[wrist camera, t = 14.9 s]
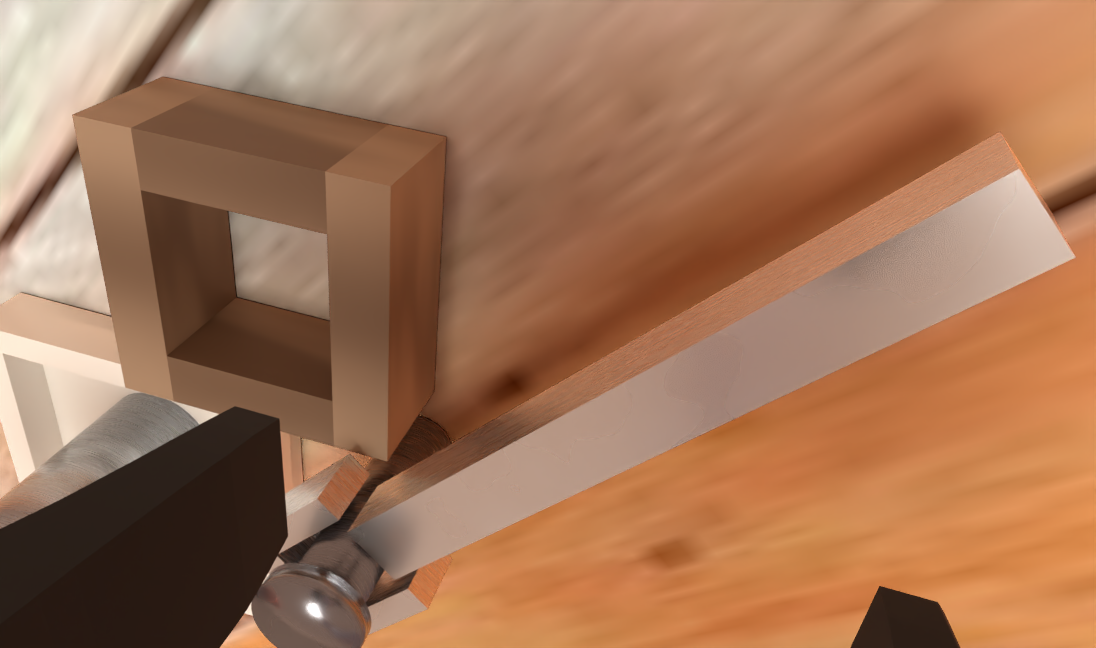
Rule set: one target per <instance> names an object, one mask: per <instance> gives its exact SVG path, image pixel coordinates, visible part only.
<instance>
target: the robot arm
mask: <svg viewBox="0 0 1096 648" xmlns="http://www.w3.org/2000/svg"><path fill="white" fill-rule="evenodd" d="M287 538H288V527H287V513H286V500H285V487H284V473H283V460H282V447H281V433H280V420H279V418H276V417H272V416H269V415H265V414H262V413H258V412H254V411H251V410H247V409H244V408H240V407H236V406H234V407H232V408H230V409H228V410H226V411H224V412H222V413H221V414H219V415H217V416H215V417H213V418H211V419H209V420H207V421H205V422H203V423H202V424H200V425H198V426H196V427H194V428H192V429H190V430H189V431H187V432H185V433H183V434H181V435H179V436H178V437H176V438H174V439H172V440H170V441H169V442H167V443H165V444H163V445H161V446H159V447H158V448H156V449H154V450H152V451H150V452H148V453H147V454H145V455H143V456H141V457H139V458H138V459H136V460H134V461H132V462H130V463H128V464H126V465H125V466H123V467H121V468H119V469H117V470H115V471H113V472H111V473H109V474H108V475H106V476H104V477H102V478H100V479H98V480H96V481H94V482H93V483H91V484H89V485H87V486H85V487H83V488H81V489H79V490H78V491H76V492H74V493H72V494H70V495H68V496H66V497H64V498H62V499H60V500H58V501H56V502H54V503H52V504H50V505H48V506H46V507H44V508H42V509H40V510H38V511H36V512H34V513H32V514H30V515H28V516H26V517H24V518H22V519H19V520H17V521H15V522H13V523H11V524H9V525H7V526H5V527H3V528H1V529H0V648H220V646H221V645H222V644H223V642H224V641H225V639H226V638H227V637H228V635H229V634H230V633H231V631H232V630H233V628H234V627H235V626H236V624H237V623H238V621H239V620H240V619H241V617H242V616H243V614H244V613H245V612H246V610H247V609H248V607H249V605H250V604H251V602H252V600H253V599H254V597H255V595H256V593H257V592H258V590H259V588H260V587H261V585H262V583H263V581H264V580H265V578H266V576H267V574H268V573H269V571H270V569H271V567H272V565H273V563H274V562H275V560H276V558H277V556H278V554H279V552H280V550H281V549H282V547H283V545H284V543H285V541H286V539H287ZM851 648H960V646H959V644H958V642H957V639H956V637H955V635H954V633H953V631H952V629H951V626H950V624H949V622H948V620H947V618H946V616H945V613H944V612H943V610H942V608H941V607H940V605H939V604H938V602H935V601H931V600H928V599H924V598H921V597H917V596H914V595H910V594H906V593H903V592H899V591H896V590H892V589H888V588H885V587H881V586H879V588H878V591H877V593H876V595H875V597H874V599H873V601H872V603H871V605H870V607H869V610H868V612H867V614H866V616H865V618H864V620H863V622H862V624H861V627H860V629H859V631H858V633H857V635H856V637H855V639H854V641H853V644H852V646H851Z"/></svg>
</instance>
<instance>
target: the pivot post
mask: <svg viewBox="0 0 1096 648" xmlns="http://www.w3.org/2000/svg"><path fill="white" fill-rule="evenodd" d="M450 444H451V442H450V440H449V437H448V436H447V434H446V433H445V431H444V430H443V429H442V428H441V427H440V426H439V425H437V424H436V423H434V422H433V421H431V420H429V419H426V418H423V417H419V416H417V418H416V419H415V421H414V422H413V424H412V425H411V427H410V428H409V430H408V431H407V433H406V434H405V436H404V437H403V439H402V440H401V442H400V443H399V445H398V446H397V448H396V449H395V451H394V452H393V454H392V455H391V457H390V458H389V460H388V461H384V460H380V459H377V458H373V457H372V458H371V459H370V461H369V462H368V464H367V465H366V467H365V468H364V469H365V470H366V471H367V472H368V473H369V474H370V475H369V477H368V478H367V479H366V481H365V482H364V484H363V485H362V487H361V488H360V490H359V491H358V493H357V494H356V496H355V497H354V499H353V500H352V502H351V503H350V505H349V506H348V507H347V509H346V510H345V512H344V513H343V515H342V516H341V518H340V519H339V521H337V522H335V523H333V524H331V525H330V526H328V527H326V528H324V529H322V530H321V532H320V533H319V534H318V536H317V537H316V539H315V540H314V542H313V543H312V545H311V546H310V547H309V549H308V550H307V552H306V553H305V555H304V556H303V558H302V559H301V560H300V562H299V563H287V564H283V565H280V566H278V567H276V568H275V569H273V570H272V571H271V572H270V574H269V575H268V577H267V578H266V579H265V581H264V582H263V583H262V585H261V587H260V588H259V590H258V592H257V593H256V595H255V597H254V599H253V600H252V603H251V610H252V615H253V618H254V620H255V622H256V624H257V626H258V628H259V629H260V631H261V632H262V633H263V634H264V636H265V637H266V638H267V639H268V640H269V641H270V642H271V643H273V644H274V645H275V646H276V647H277V648H361V647H362V645H363V643H364V641H365V639H366V638H367V636H368V634H369V632H370V629H371V623H372V622H371V615H370V611H369V609H368V607H367V605H366V602H367V600H368V598H369V597H370V595H371V593H372V591H373V590H374V588H375V586H376V584H377V583H378V581H379V579H380V577H381V576H382V574H383V572H384V569H383V568H382V567H381V566H380V565H379V564H378V563H377V562H376V561H375V560H374V559H373V558H372V557H371V556H370V555H369V554H368V553H367V552H366V551H365V550H364V549H363V548H362V547H361V546H360V545H359V544H358V543H357V542H356V541H355V540H354V539H353V538H352V537H351V536H350V535H349V534H348V533H347V531H348V530H349V528H350V527H351V525H352V524H353V522H354V521H355V519H356V518H357V516H358V515H359V513H360V512H361V510H362V509H363V507H364V506H365V504H366V502H367V501H368V499H369V498H370V496H371V495H372V493H373V492H374V490H375V489H376V487H377V486H378V485H380V484H382V483H383V482H385V481H387V480H389V479H391V478H392V477H394V476H396V475H398V474H399V473H401V472H403V471H405V470H406V469H408V468H410V467H412V466H413V465H415V464H417V463H419V462H420V461H422V460H424V459H426V458H427V457H429V456H431V455H433V454H434V453H436V452H438V451H440V450H441V449H443V448H445V447H447V446H448V445H450Z"/></svg>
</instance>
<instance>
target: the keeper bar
mask: <svg viewBox="0 0 1096 648" xmlns="http://www.w3.org/2000/svg"><path fill="white" fill-rule="evenodd" d="M1073 258H1076V257H1075V255H1074V253H1073V251H1072V250H1071V248H1070V246H1069V244H1068V242H1067V240H1066V238H1065V236H1064V235H1063V233H1062V231H1061V229H1060V227H1059V225H1058V223H1057V221H1056V220H1055V218H1054V216H1053V214H1052V212H1051V211H1050V209H1049V207H1048V206H1047V204H1046V203H1045V201H1044V200H1043V198H1042V196H1041V195H1040V193H1039V192H1038V190H1037V189H1036V187H1035V185H1034V184H1033V182H1032V181H1031V179H1030V178H1029V176H1028V174H1027V173H1026V171H1025V170H1024V168H1023V166H1022V165H1021V163H1020V162H1019V160H1018V159H1017V157H1016V155H1015V154H1014V152H1013V151H1012V149H1011V148H1010V146H1009V144H1008V143H1007V141H1006V140H1005V138H1004V137H1003V135H1002V133H1001V132H998V133H997V134H995V135H993V136H991V137H989V138H988V139H986V140H984V141H982V142H981V143H979V144H977V145H975V146H974V147H972V148H970V149H968V150H967V151H965V152H963V153H961V154H960V155H958V156H956V157H954V158H953V159H951V160H949V161H947V162H946V163H944V164H942V165H940V166H939V167H937V168H935V169H933V170H932V171H930V172H928V173H926V174H924V175H923V176H921V177H919V178H917V179H916V180H914V181H912V182H910V183H909V184H907V185H905V186H903V187H902V188H900V189H898V190H896V191H895V192H893V193H891V194H889V195H888V196H886V197H884V198H882V199H881V200H879V201H877V202H875V203H874V204H872V205H870V206H868V207H867V208H865V209H863V210H861V211H859V212H858V213H856V214H854V215H852V216H851V217H849V218H847V219H845V220H844V221H842V222H840V223H838V224H837V225H835V226H833V227H831V228H830V229H828V230H826V231H824V232H823V233H821V234H819V235H817V236H816V237H814V238H812V239H810V240H809V241H807V242H805V243H803V244H802V245H800V246H798V247H796V248H795V249H793V250H791V251H789V252H787V253H786V254H784V255H782V256H780V257H779V258H777V259H775V260H773V261H772V262H770V263H768V264H766V265H765V266H763V267H761V268H759V269H758V270H756V271H754V272H752V273H751V274H749V275H747V276H745V277H744V278H742V279H740V280H738V281H737V282H735V283H733V284H731V285H730V286H728V287H726V288H724V289H722V290H721V291H719V292H717V293H715V294H714V295H712V296H710V297H708V298H707V299H705V300H703V301H701V302H700V303H698V304H696V305H694V306H693V307H691V308H689V309H687V310H686V311H684V312H682V313H680V314H679V315H677V316H675V317H673V318H672V319H670V320H668V321H666V322H665V323H663V324H661V325H659V326H658V327H656V328H654V329H652V330H650V331H649V332H647V333H645V334H643V335H642V336H640V337H638V338H636V339H635V340H633V341H631V342H629V343H628V344H626V345H624V346H622V347H621V348H619V349H617V350H615V351H614V352H612V353H610V354H608V355H607V356H605V357H603V358H601V359H600V360H598V361H596V362H594V363H593V364H591V365H589V366H587V367H585V368H584V369H582V370H580V371H578V372H577V373H575V374H573V375H571V376H570V377H568V378H566V379H564V380H563V381H561V382H559V383H557V384H556V385H554V386H552V387H550V388H549V389H547V390H545V391H543V392H542V393H540V394H538V395H536V396H535V397H533V398H531V399H529V400H528V401H526V402H524V403H522V404H520V405H519V406H517V407H515V408H513V409H512V410H510V411H508V412H506V413H505V414H503V415H501V416H499V417H498V418H496V419H494V420H492V421H491V422H489V423H487V424H485V425H484V426H482V427H480V428H478V429H477V430H475V431H473V432H471V433H470V434H468V435H466V436H464V437H463V438H461V439H459V440H457V441H456V442H454V443H452V444H450V445H448V446H447V447H445V448H443V449H441V450H440V451H438V452H436V453H434V454H433V455H431V456H429V457H427V458H426V459H424V460H422V461H420V462H419V463H417V464H415V465H413V466H412V467H410V468H408V469H406V470H405V471H403V472H401V473H399V474H398V475H396V476H394V477H392V478H391V479H389V480H387V481H385V482H383V483H382V484H380V485H378V486H377V487H376V489H375V490H374V492H373V493H372V495H371V496H370V498H369V499H368V501H367V502H366V504H365V506H364V507H363V509H362V510H361V512H360V513H359V515H358V516H357V518H356V519H355V521H354V522H353V524H352V525H351V527H350V528H349V530H348V531H347V533H348V534H349V535H350V536H351V537H352V538H353V539H354V540H355V541H356V542H357V543H358V544H359V545H360V546H361V547H362V548H363V549H364V550H365V551H366V552H367V553H368V554H369V555H370V556H371V557H372V558H373V559H374V560H375V561H376V562H377V563H378V564H379V565H380V566H381V567H382V568H383V569H384V572H383V574H382V576H381V577H380V579H379V581H378V583H377V584H376V586H375V588H374V590H373V591H372V593H371V595H370V597H369V598H368V600H367V602H366V605H367V607H368V609H369V611H370V615H371V622H372V623H371V629H370V632H369V634H371V633H373V632H376V631H378V630H380V629H383V628H385V627H387V626H390V625H392V624H394V623H397V622H399V621H401V620H403V619H406V618H408V617H410V616H413V615H415V614H417V613H420V612H422V611H424V610H427V609H428V608H429V606H430V604H431V602H432V600H433V598H434V596H435V594H436V592H437V589H438V587H439V585H440V583H441V581H442V579H443V577H444V575H445V573H446V571H447V569H448V567H449V565H450V563H451V561H452V558H451V557H450V556H449V555H448V554H451V553H453V552H455V551H457V550H459V549H461V548H463V547H465V546H467V545H470V544H472V543H474V542H476V541H478V540H480V539H482V538H484V537H486V536H489V535H491V534H493V533H495V532H497V531H499V530H501V529H503V528H505V527H508V526H510V525H512V524H514V523H516V522H518V521H520V520H522V519H524V518H527V517H529V516H531V515H533V514H535V513H537V512H539V511H541V510H543V509H546V508H548V507H550V506H552V505H554V504H556V503H558V502H560V501H563V500H565V499H567V498H569V497H571V496H573V495H575V494H577V493H579V492H582V491H584V490H586V489H588V488H590V487H592V486H594V485H596V484H598V483H601V482H603V481H605V480H607V479H609V478H611V477H613V476H615V475H617V474H620V473H622V472H624V471H626V470H628V469H630V468H632V467H634V466H636V465H639V464H641V463H643V462H645V461H647V460H649V459H651V458H653V457H655V456H658V455H660V454H662V453H664V452H666V451H668V450H670V449H672V448H674V447H677V446H679V445H681V444H683V443H685V442H687V441H689V440H691V439H693V438H696V437H698V436H700V435H702V434H704V433H706V432H708V431H710V430H712V429H715V428H717V427H719V426H721V425H723V424H725V423H727V422H729V421H731V420H734V419H736V418H738V417H740V416H742V415H744V414H746V413H748V412H750V411H753V410H755V409H757V408H759V407H761V406H763V405H765V404H767V403H769V402H772V401H774V400H776V399H778V398H780V397H782V396H784V395H786V394H788V393H791V392H793V391H795V390H797V389H799V388H801V387H803V386H805V385H807V384H810V383H812V382H814V381H816V380H818V379H820V378H822V377H824V376H826V375H829V374H831V373H833V372H835V371H837V370H839V369H841V368H843V367H845V366H848V365H850V364H852V363H854V362H856V361H858V360H860V359H862V358H864V357H867V356H869V355H871V354H873V353H875V352H877V351H879V350H881V349H883V348H886V347H888V346H890V345H892V344H894V343H896V342H898V341H900V340H902V339H905V338H907V337H909V336H911V335H913V334H915V333H917V332H919V331H921V330H924V329H926V328H928V327H930V326H932V325H934V324H936V323H938V322H940V321H943V320H945V319H947V318H949V317H951V316H953V315H955V314H957V313H959V312H962V311H964V310H966V309H968V308H970V307H972V306H974V305H976V304H978V303H981V302H983V301H985V300H987V299H989V298H991V297H993V296H995V295H997V294H1000V293H1002V292H1004V291H1006V290H1008V289H1010V288H1012V287H1014V286H1016V285H1019V284H1021V283H1023V282H1025V281H1027V280H1029V279H1031V278H1033V277H1035V276H1038V275H1040V274H1042V273H1044V272H1046V271H1048V270H1050V269H1052V268H1054V267H1057V266H1059V265H1061V264H1063V263H1065V262H1067V261H1069V260H1071V259H1073ZM369 475H370V474H369V473H368V472H367V471H366V470H365V469H364V468H363V467H362V466H361V465H360V464H359V463H358V462H357V461H356V460H355V459H354V457H353V456H352V455H351V454H349V455H347V456H345V457H344V458H342V459H341V460H339V461H337V462H336V463H334V464H332V465H331V466H329V467H328V468H326V469H324V470H323V471H321V472H319V473H318V474H316V475H315V476H313V477H311V478H310V479H308V480H306V481H305V482H303V483H302V484H300V485H298V486H297V487H295V488H293V489H292V490H290V491H289V492H287V493H285V500H286V513H287V527H288V538H287V539H286V541H285V543H284V545H283V547H282V549H281V550H280V552H279V554H278V556H277V558H276V560H275V562H274V563H273V565H272V567H271V569H270V571H269V574H270V572H271V571H272V570H273V569H275V568H276V567H278V566H280V565H283V564H287V563H299V562H300V560H301V559H302V558H303V556H304V555H305V553H306V552H307V550H308V549H309V547H310V546H311V545H312V543H313V542H314V540H315V539H316V537H317V536H318V534H319V533H320V532H321V530H322V529H324V528H326V527H328V526H330V525H331V524H333V523H335V522H337V521H339V519H340V518H341V516H342V515H343V513H344V512H345V510H346V509H347V507H348V506H349V505H350V503H351V502H352V500H353V499H354V497H355V496H356V494H357V493H358V491H359V490H360V488H361V487H362V485H363V484H364V482H365V481H366V479H367V478H368V477H369ZM369 634H368V635H369Z"/></svg>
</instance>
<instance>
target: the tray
mask: <svg viewBox="0 0 1096 648" xmlns="http://www.w3.org/2000/svg"><path fill="white" fill-rule="evenodd" d="M132 393H142V392H139V391H135V390H132V389H128V388H125V384H124V379H123V374H122V369H121V364H120V358H119V353H118V348H117V343H116V338H115V333H114V327H113V322H112V317H110V316H106V315H103V314H99V313H95V312H91V311H88V310H84V309H80V308H76V307H73V306H69V305H65V304H61V303H58V302H54V301H50V300H46V299H43V298H39V297H35V296H31V295H28V294H24V293H19V294H18V295H16V296H14V297H13V298H11V299H10V300H8V301H6V302H5V303H3V304H1V305H0V420H1V423H2V427H3V430H4V433H5V437H6V440H7V443H8V447H9V450H10V453H11V457H12V460H13V464H14V467H15V470H16V474H17V477H18V480H19V483H20V482H22V481H23V480H24V479H25V478H26V477H28V476H29V475H30V474H31V473H33V472H34V471H35V470H36V469H37V468H39V467H40V466H41V465H42V464H43V463H45V462H46V461H47V460H48V459H49V458H51V457H52V456H53V455H54V454H56V453H57V452H58V451H59V450H60V449H62V448H63V447H64V446H65V445H66V444H68V443H69V442H70V441H71V440H72V439H74V438H75V437H76V436H77V435H79V434H80V433H81V432H82V431H83V430H85V429H86V428H87V427H88V426H89V425H91V424H92V423H93V422H94V421H95V420H97V419H98V418H99V417H100V416H102V415H103V414H104V413H105V412H106V411H108V410H109V409H110V408H111V407H112V406H114V405H115V404H116V403H117V402H118V401H120V400H121V399H122V398H123V397H125V396H127V395H129V394H132ZM149 395H150V394H149ZM156 397H157V396H156ZM163 399H164V398H163ZM170 401H171V400H170ZM172 402H174V401H172ZM174 403H176V404H177V405H179V406H180V407H182V408H183V409H184V410H186V411H187V412H188V413H189V414H190V415H191V416H192V417H193V418H194V419H195V420H196V421H197V422H198V424H199V425H200V424H202V423H203V422H205V421H207V420H209V419H211V418H213V417H215V416H217V415H219V414H217V413H213V412H210V411H206V410H203V409H199V408H196V407H192V406H189V405H185V404H182V403H178V402H174ZM280 433H281V447H282V460H283V473H284V487H285V493H287V492H289V491H290V490H292V489H293V488H295V487H297V486H298V485H300V484H302V483H303V472H302V455H301V438H300V437H299V436H295V435H292V434H288V433H284V432H281V431H280ZM268 575H269V573H268V574H267V576H266V578H267V577H268ZM266 578H265V579H266ZM264 581H265V580H264ZM264 581H263V582H264ZM251 603H252V602H251ZM245 613H246V614H249V615H252V610H251V604H250V605H249V607H248V609H247V610H246V612H245ZM252 616H253V615H252Z"/></svg>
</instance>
